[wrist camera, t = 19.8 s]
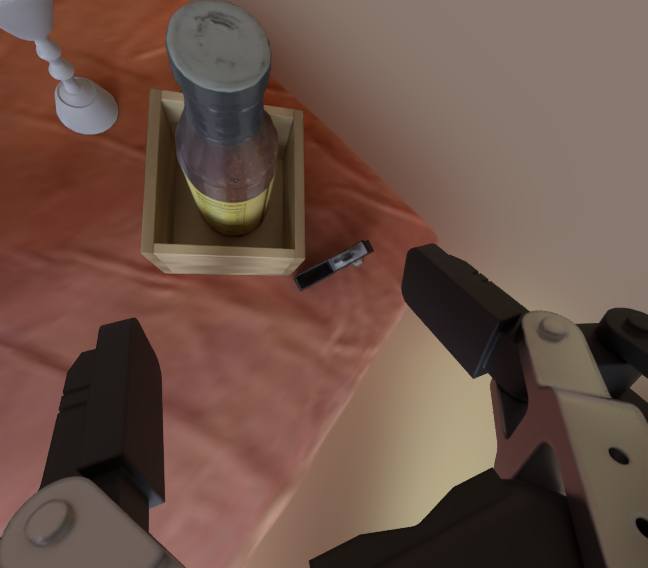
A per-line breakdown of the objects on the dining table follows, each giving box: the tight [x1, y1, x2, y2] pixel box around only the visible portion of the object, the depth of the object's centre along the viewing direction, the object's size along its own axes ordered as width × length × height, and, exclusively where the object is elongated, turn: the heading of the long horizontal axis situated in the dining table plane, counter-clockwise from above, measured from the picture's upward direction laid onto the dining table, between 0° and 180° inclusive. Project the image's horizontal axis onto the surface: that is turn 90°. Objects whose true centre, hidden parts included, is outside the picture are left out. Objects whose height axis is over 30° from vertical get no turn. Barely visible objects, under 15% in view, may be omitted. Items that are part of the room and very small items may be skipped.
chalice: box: [0, 0, 118, 134], centre depth 22 cm, size 7×7×18 cm
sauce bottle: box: [165, 0, 278, 237], centre depth 23 cm, size 7×6×20 cm
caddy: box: [141, 88, 305, 276], centre depth 29 cm, size 12×13×8 cm
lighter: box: [294, 240, 374, 291], centre depth 33 cm, size 8×2×5 cm
